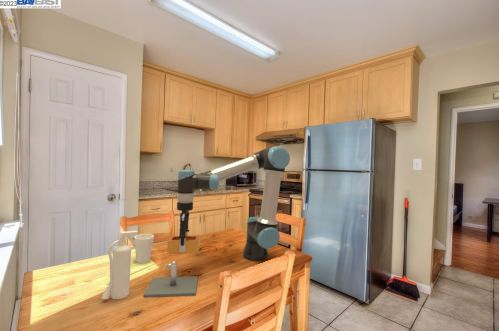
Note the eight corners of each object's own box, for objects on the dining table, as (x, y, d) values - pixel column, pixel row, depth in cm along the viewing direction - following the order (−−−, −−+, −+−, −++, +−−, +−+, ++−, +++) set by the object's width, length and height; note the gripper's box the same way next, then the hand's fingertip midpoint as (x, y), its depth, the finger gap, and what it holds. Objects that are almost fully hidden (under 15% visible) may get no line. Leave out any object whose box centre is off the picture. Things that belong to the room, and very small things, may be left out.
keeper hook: (176, 283, 102) (177, 259, 102) (175, 286, 100) (176, 262, 99) (164, 283, 101) (165, 259, 101) (163, 286, 99) (164, 262, 99)
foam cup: (145, 265, 120) (146, 240, 120) (129, 263, 121) (130, 238, 121) (156, 258, 129) (157, 234, 129) (141, 256, 131) (142, 233, 131)
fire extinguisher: (96, 298, 89) (102, 233, 90) (128, 287, 99) (133, 228, 99) (103, 305, 85) (110, 237, 86) (136, 293, 95) (142, 231, 95)
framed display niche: (199, 247, 119) (199, 235, 119) (198, 253, 111) (198, 240, 111) (170, 247, 117) (170, 235, 117) (167, 254, 109) (167, 241, 109)
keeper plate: (197, 278, 109) (197, 276, 109) (195, 295, 95) (195, 292, 95) (152, 279, 106) (152, 277, 106) (143, 297, 92) (143, 294, 92)
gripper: (180, 198, 123) (178, 241, 123) (173, 205, 103) (171, 257, 103) (194, 198, 124) (193, 241, 125) (191, 205, 104) (189, 256, 104)
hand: (183, 248), depth 114 cm, fingers closed on framed display niche, 8 cm apart
